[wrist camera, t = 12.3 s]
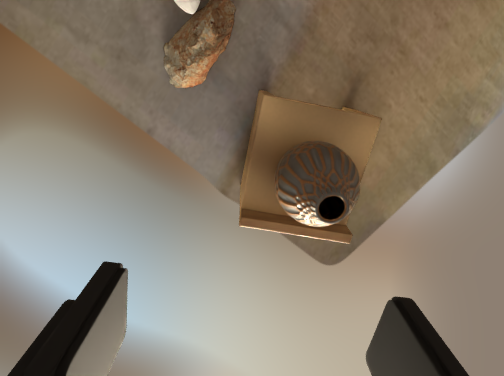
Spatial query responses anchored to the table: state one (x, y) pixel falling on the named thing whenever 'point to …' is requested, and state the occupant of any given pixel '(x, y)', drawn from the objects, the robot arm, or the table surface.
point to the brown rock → (199, 43)
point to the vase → (317, 183)
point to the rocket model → (188, 5)
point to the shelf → (283, 139)
